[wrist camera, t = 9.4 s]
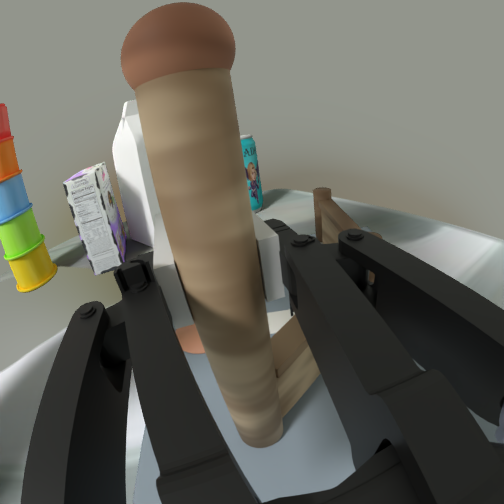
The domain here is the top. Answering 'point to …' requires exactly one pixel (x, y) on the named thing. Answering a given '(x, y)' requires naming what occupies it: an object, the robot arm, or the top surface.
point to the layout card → (291, 442)
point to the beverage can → (252, 172)
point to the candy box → (97, 218)
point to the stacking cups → (20, 220)
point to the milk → (135, 176)
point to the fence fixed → (332, 220)
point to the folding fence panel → (213, 212)
